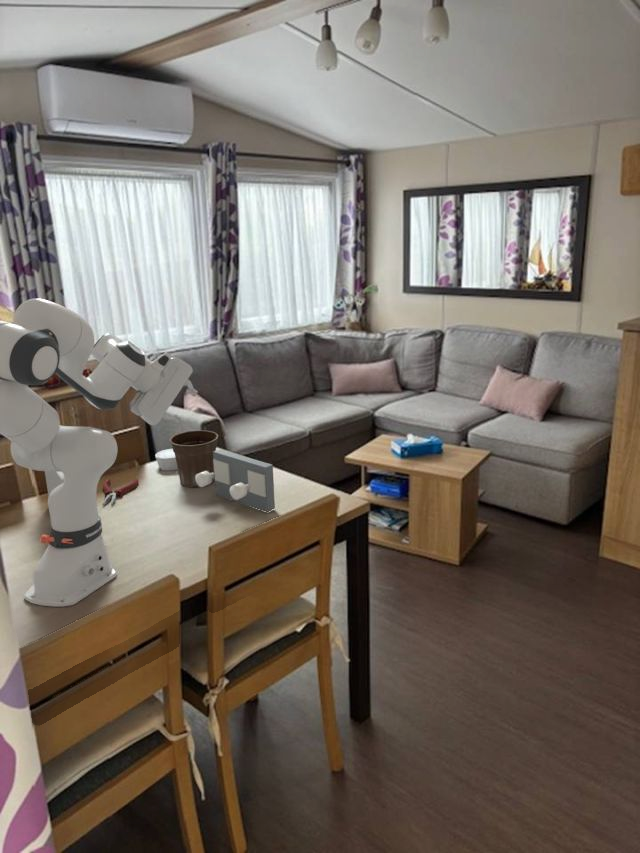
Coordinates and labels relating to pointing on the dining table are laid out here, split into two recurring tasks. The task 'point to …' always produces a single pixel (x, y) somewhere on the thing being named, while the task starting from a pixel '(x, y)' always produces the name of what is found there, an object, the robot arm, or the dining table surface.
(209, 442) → the plant pot
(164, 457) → the ramekin
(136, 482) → the pliers
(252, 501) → the mount
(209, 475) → the knob left
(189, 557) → the dining table surface
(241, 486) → the knob right
